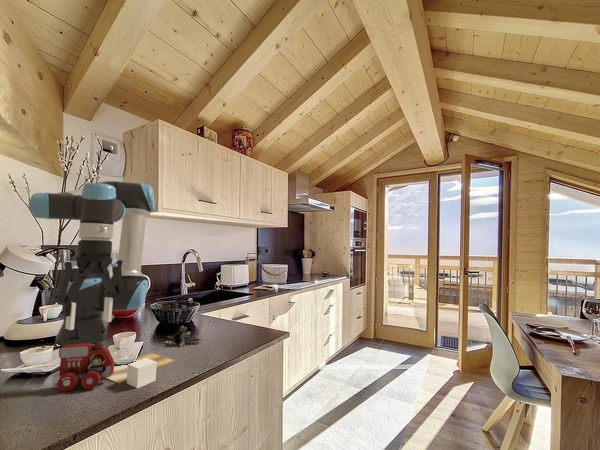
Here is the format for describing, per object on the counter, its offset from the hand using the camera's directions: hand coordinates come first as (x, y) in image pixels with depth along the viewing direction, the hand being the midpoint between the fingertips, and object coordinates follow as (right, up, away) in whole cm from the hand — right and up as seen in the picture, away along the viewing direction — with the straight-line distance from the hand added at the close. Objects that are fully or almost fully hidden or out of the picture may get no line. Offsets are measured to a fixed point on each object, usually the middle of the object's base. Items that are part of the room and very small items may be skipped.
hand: (89, 324), depth 73 cm
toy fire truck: (0, -15, -1) cm, 15 cm away
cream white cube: (+14, -16, +1) cm, 21 cm away
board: (+7, -16, +10) cm, 20 cm away
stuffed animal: (+11, -19, +32) cm, 39 cm away
